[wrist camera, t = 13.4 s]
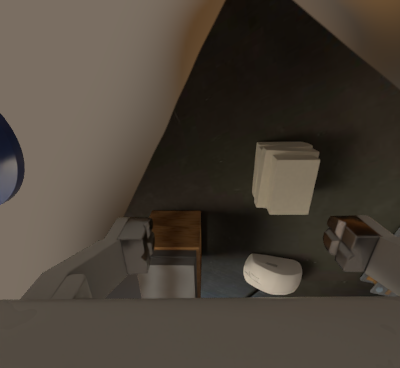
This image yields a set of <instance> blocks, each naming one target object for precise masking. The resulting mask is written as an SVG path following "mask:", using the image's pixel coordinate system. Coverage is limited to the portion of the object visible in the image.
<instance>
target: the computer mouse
mask: <svg viewBox="0 0 400 368" xmlns="http://www.w3.org/2000/svg"><path fill="white" fill-rule="evenodd" d="M244 277H245V280H246V281H247V282H248V283H249V284H251V285H252V286H254V287H256V288H257V289H259V290H261V291H264V292H266V293H269V294H274V295H286V294H289V293H292V292H294V291H295V290H296V289H297V288H298V286H299V283H300V281H301V278H302V267H301V265H300V263H299V262H297V261H295V260H292V259H286V258H280V257H275V256H269V255H262V254H255V253H252V254H250V255H249V256H248V258H247V260H246V262H245V265H244Z"/></svg>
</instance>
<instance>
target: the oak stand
mask: <svg viewBox="0 0 400 368" xmlns="http://www.w3.org/2000/svg"><path fill="white" fill-rule="evenodd" d="M149 218H152V220H153V228H152V232H153V233H154V235H155V247H154V252H153V254H152V255H151V256H150V258H151V263H150V266H149V270H148V273H146V274H137V276H138V281H139V286H140V291H141V297H142V299H151V298H201V211H152V212H151V215H150V217H149Z"/></svg>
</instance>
